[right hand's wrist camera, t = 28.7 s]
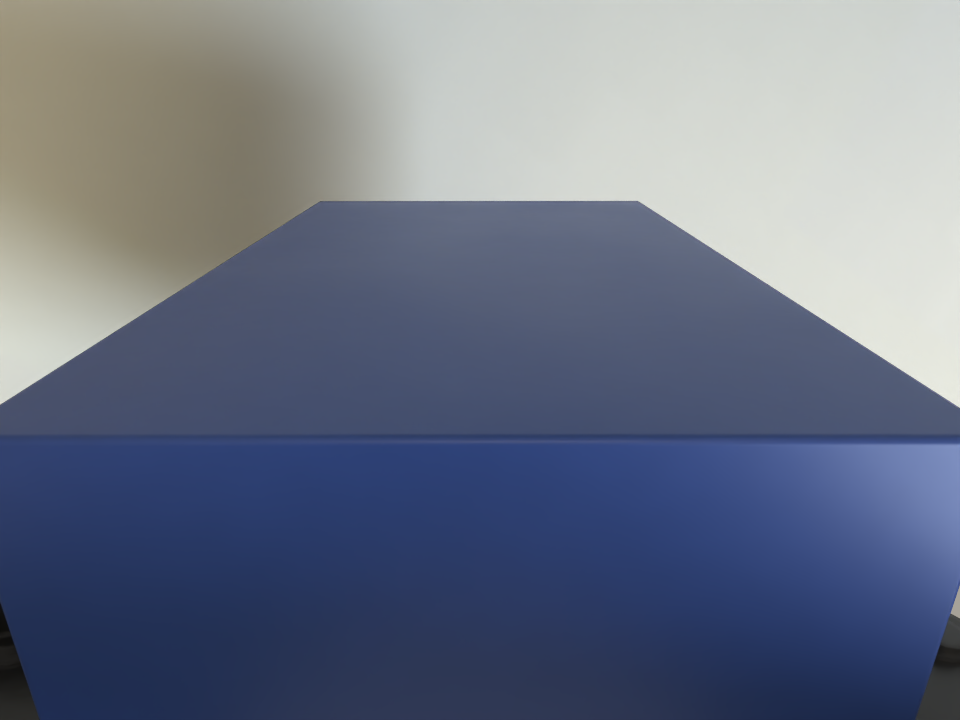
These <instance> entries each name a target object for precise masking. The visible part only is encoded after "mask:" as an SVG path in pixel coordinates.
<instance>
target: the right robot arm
mask: <svg viewBox="0 0 960 720" xmlns="http://www.w3.org/2000/svg"><path fill="white" fill-rule="evenodd" d="M0 720H40V719H39V716H38V713H37V710H36V707H35V704H34V701H33V698H32V695H31V692H30V689H29V686H28V683H27V680H26V677H25V674H24V672H23V669H22V666H21V663H20V660H19V657H18V654H17V651H16V648H15V645H14V642H13V639H12V636H11V633H10V630H9V627H8V624H7V621H6V618H5V615H4V612H3V609H2V606H1V603H0ZM915 720H960V618H958V617H956V616H954V615H952V614H950V616H949V619H948V622H947V625H946V628H945V631H944V634H943V637H942V640H941V643H940V646H939V650H938V653H937V656H936V659H935V662H934V665H933V668H932V671H931V674H930V677H929V680H928V683H927V686H926V689H925V692H924V695H923V698H922V701H921V704H920V707H919V710H918V713H917V716H916V719H915Z"/></svg>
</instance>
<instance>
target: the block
mask: <svg viewBox="0 0 960 720" xmlns="http://www.w3.org/2000/svg"><path fill="white" fill-rule="evenodd" d="M959 586H960V408H959V407H958V406H956V405H954V404H953V403H951V402H950V401H948V400H947V399H945V398H944V397H942V396H940V395H939V394H937V393H936V392H934V391H933V390H931V389H930V388H928V387H926V386H925V385H923V384H922V383H920V382H919V381H917V380H916V379H914V378H912V377H911V376H909V375H908V374H906V373H905V372H903V371H901V370H900V369H898V368H897V367H895V366H894V365H892V364H891V363H889V362H887V361H886V360H884V359H883V358H881V357H880V356H878V355H877V354H875V353H873V352H872V351H870V350H869V349H867V348H866V347H864V346H863V345H861V344H859V343H858V342H856V341H855V340H853V339H852V338H850V337H849V336H847V335H845V334H844V333H842V332H841V331H839V330H838V329H836V328H835V327H833V326H831V325H830V324H828V323H827V322H825V321H824V320H822V319H821V318H819V317H817V316H816V315H814V314H813V313H811V312H810V311H808V310H807V309H805V308H803V307H802V306H800V305H799V304H797V303H796V302H794V301H793V300H791V299H789V298H788V297H786V296H785V295H783V294H782V293H780V292H779V291H777V290H775V289H774V288H772V287H771V286H769V285H768V284H766V283H765V282H763V281H761V280H760V279H758V278H757V277H755V276H754V275H752V274H751V273H749V272H747V271H746V270H744V269H743V268H741V267H740V266H738V265H737V264H735V263H733V262H732V261H730V260H729V259H727V258H726V257H724V256H723V255H721V254H719V253H718V252H716V251H715V250H713V249H712V248H710V247H709V246H707V245H705V244H704V243H702V242H701V241H699V240H698V239H696V238H695V237H693V236H691V235H690V234H688V233H687V232H685V231H684V230H682V229H681V228H679V227H677V226H676V225H674V224H673V223H671V222H670V221H668V220H667V219H665V218H663V217H662V216H660V215H659V214H657V213H656V212H654V211H653V210H651V209H649V208H648V207H646V206H645V205H643V204H642V203H640V202H638V201H320V202H318V203H317V204H315V205H314V206H312V207H310V208H309V209H307V210H306V211H304V212H303V213H301V214H299V215H298V216H296V217H295V218H293V219H292V220H290V221H288V222H287V223H285V224H284V225H282V226H281V227H279V228H277V229H276V230H274V231H273V232H271V233H270V234H268V235H266V236H265V237H263V238H262V239H260V240H259V241H257V242H255V243H254V244H252V245H251V246H249V247H248V248H246V249H244V250H243V251H241V252H240V253H238V254H237V255H235V256H233V257H232V258H230V259H229V260H227V261H226V262H224V263H222V264H221V265H219V266H218V267H216V268H215V269H213V270H211V271H210V272H208V273H207V274H205V275H204V276H202V277H200V278H199V279H197V280H196V281H194V282H193V283H191V284H189V285H188V286H186V287H185V288H183V289H182V290H180V291H178V292H177V293H175V294H174V295H172V296H171V297H169V298H167V299H166V300H164V301H163V302H161V303H160V304H158V305H156V306H155V307H153V308H152V309H150V310H149V311H147V312H145V313H144V314H142V315H141V316H139V317H138V318H136V319H134V320H133V321H131V322H130V323H128V324H127V325H125V326H123V327H122V328H120V329H119V330H117V331H115V332H114V333H112V334H111V335H109V336H108V337H106V338H104V339H103V340H101V341H100V342H98V343H97V344H95V345H93V346H92V347H90V348H89V349H87V350H86V351H84V352H82V353H81V354H79V355H78V356H76V357H75V358H73V359H71V360H70V361H68V362H67V363H65V364H64V365H62V366H60V367H59V368H57V369H56V370H54V371H53V372H51V373H49V374H48V375H46V376H45V377H43V378H42V379H40V380H38V381H37V382H35V383H34V384H32V385H31V386H29V387H27V388H26V389H24V390H23V391H21V392H20V393H18V394H16V395H15V396H13V397H12V398H10V399H9V400H7V401H5V402H4V403H2V404H1V405H0V603H1V606H2V609H3V612H4V615H5V618H6V621H7V624H8V627H9V630H10V633H11V636H12V639H13V642H14V645H15V648H16V651H17V654H18V657H19V660H20V663H21V666H22V669H23V672H24V674H25V677H26V680H27V683H28V686H29V689H30V692H31V695H32V698H33V701H34V704H35V707H36V710H37V713H38V716H39V719H40V720H915V719H916V716H917V713H918V710H919V707H920V704H921V701H922V698H923V695H924V692H925V689H926V686H927V683H928V680H929V677H930V674H931V671H932V668H933V665H934V662H935V659H936V656H937V653H938V650H939V646H940V643H941V640H942V637H943V634H944V631H945V628H946V625H947V622H948V619H949V616H950V613H951V610H952V607H953V604H954V601H955V598H956V595H957V592H958V589H959Z"/></svg>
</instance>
